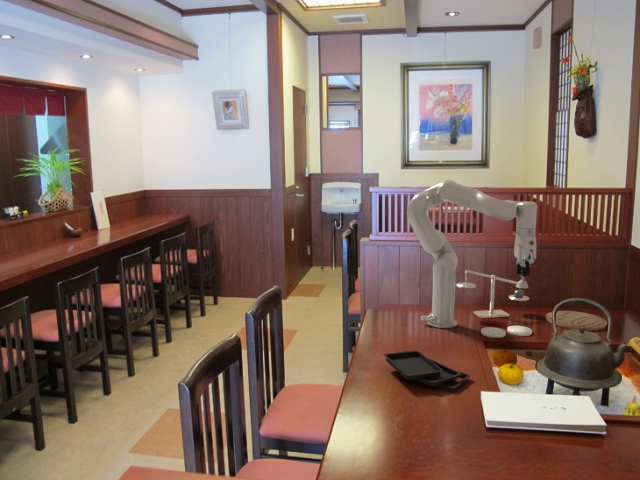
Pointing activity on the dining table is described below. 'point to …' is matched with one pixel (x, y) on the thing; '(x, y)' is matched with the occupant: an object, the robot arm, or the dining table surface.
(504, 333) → the dish left
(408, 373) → the tray
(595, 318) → the trivet
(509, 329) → the dish right
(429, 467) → the dining table surface
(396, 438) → the dining table surface
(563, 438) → the dining table surface
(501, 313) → the balance
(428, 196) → the robot arm
